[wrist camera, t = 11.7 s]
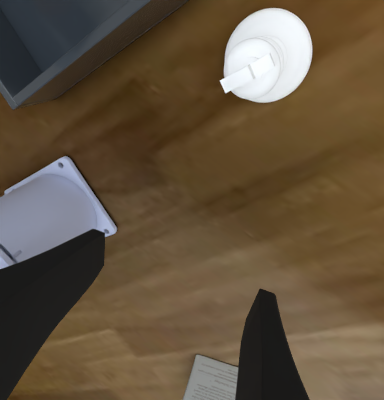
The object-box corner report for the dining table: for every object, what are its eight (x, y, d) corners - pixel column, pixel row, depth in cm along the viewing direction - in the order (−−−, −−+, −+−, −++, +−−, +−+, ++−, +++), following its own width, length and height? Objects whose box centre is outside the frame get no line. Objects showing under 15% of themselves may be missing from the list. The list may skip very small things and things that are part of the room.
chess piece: (211, 39, 17) (138, 38, 9) (293, -13, 15) (297, -78, 7) (245, 115, 19) (208, 175, 10) (324, 78, 17) (358, 116, 8)
